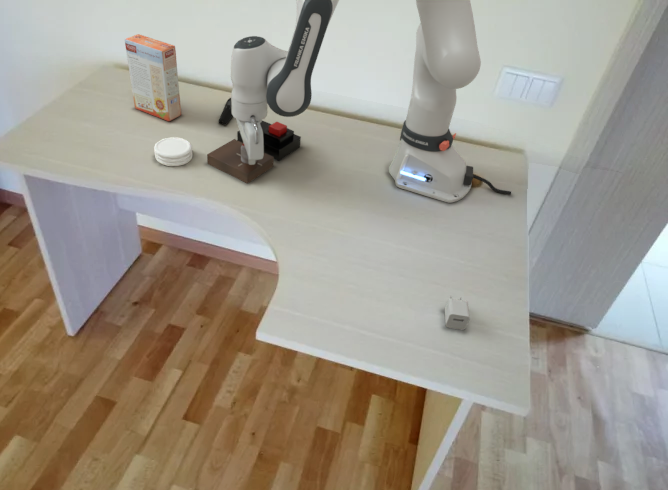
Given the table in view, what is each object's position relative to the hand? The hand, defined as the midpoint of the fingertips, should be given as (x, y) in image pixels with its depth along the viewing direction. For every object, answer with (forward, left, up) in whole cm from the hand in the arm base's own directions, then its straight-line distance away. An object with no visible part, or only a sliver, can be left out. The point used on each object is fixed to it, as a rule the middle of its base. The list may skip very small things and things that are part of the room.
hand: (249, 156), depth 141 cm
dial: (0, 0, -1) cm, 1 cm away
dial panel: (+3, 0, -4) cm, 5 cm away
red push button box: (+4, -13, -4) cm, 15 cm away
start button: (+1, -14, +1) cm, 14 cm away
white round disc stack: (+19, +9, -4) cm, 21 cm away
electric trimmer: (+24, -19, -4) cm, 31 cm away
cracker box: (+41, -6, -4) cm, 42 cm away
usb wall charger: (-66, +14, -4) cm, 68 cm away
